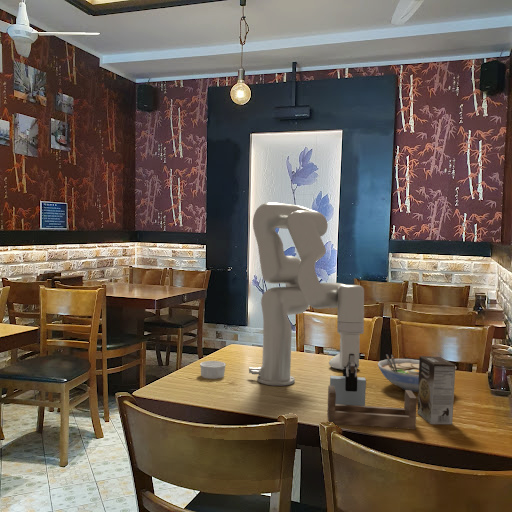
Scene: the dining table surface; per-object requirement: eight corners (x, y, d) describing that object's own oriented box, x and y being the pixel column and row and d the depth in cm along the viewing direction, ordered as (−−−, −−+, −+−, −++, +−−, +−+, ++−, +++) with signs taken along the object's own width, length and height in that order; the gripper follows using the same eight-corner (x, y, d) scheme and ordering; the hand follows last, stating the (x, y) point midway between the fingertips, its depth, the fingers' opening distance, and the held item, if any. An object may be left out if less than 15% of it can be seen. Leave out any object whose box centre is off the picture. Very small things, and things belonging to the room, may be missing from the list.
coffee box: (416, 412, 141) (418, 355, 141) (438, 413, 142) (440, 356, 142) (430, 424, 132) (432, 363, 132) (453, 424, 133) (456, 363, 132)
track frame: (328, 423, 131) (329, 392, 130) (327, 414, 138) (328, 385, 137) (415, 429, 128) (416, 398, 128) (409, 419, 135) (411, 390, 135)
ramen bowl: (456, 403, 151) (457, 376, 151) (378, 396, 156) (379, 370, 156) (442, 381, 176) (443, 358, 176) (375, 376, 180) (376, 353, 180)
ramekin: (224, 380, 169) (224, 367, 169) (197, 379, 169) (198, 366, 169) (226, 373, 178) (226, 361, 178) (201, 372, 178) (201, 360, 178)
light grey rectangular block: (329, 405, 145) (330, 378, 145) (329, 402, 148) (330, 375, 148) (364, 408, 144) (365, 380, 144) (363, 404, 147) (364, 377, 147)
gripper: (335, 323, 155) (334, 379, 155) (339, 331, 137) (338, 394, 137) (360, 323, 154) (359, 379, 154) (367, 332, 137) (366, 395, 137)
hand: (349, 386), depth 146 cm, fingers open, 9 cm apart
